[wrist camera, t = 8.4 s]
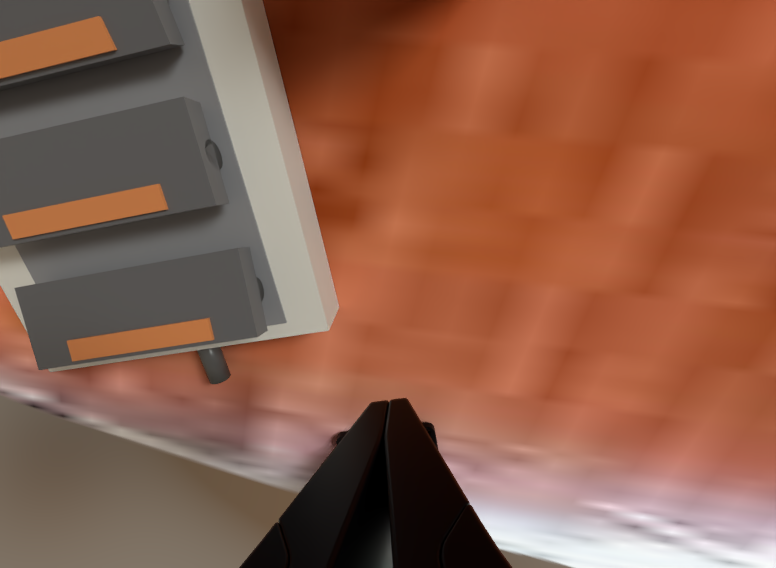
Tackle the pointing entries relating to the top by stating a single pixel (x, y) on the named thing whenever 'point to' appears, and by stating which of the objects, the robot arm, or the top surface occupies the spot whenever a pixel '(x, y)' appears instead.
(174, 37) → the rocker
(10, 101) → the light switch panel
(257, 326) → the rocker
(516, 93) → the top surface
